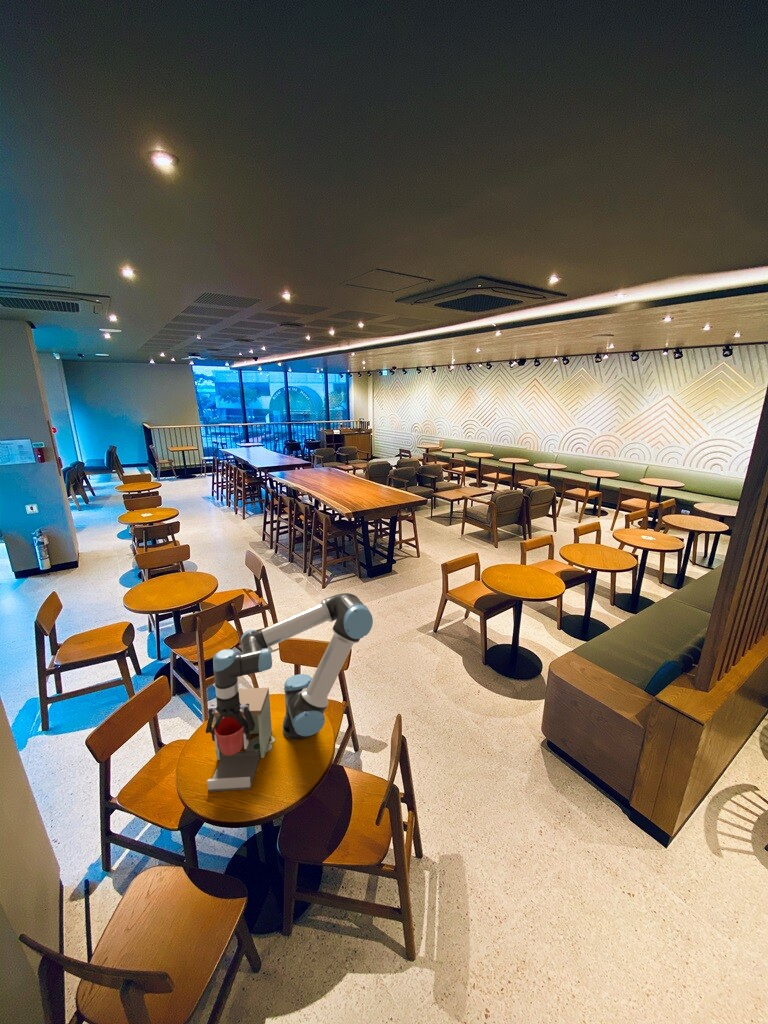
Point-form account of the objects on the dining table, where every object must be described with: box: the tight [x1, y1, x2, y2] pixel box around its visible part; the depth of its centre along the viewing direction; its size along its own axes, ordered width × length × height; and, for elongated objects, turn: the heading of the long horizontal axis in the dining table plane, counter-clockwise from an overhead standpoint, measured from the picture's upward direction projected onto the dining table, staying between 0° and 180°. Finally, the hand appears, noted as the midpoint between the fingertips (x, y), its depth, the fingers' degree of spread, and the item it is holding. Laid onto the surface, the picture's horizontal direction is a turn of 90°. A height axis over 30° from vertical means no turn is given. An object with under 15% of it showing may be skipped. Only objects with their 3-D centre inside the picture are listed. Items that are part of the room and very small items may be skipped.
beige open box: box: [212, 687, 273, 761], centre depth 158 cm, size 18×14×21 cm
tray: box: [206, 750, 261, 792], centre depth 146 cm, size 15×14×4 cm
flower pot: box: [214, 716, 245, 755], centre depth 143 cm, size 11×11×10 cm
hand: (232, 746), depth 144 cm, fingers closed on flower pot, 9 cm apart
